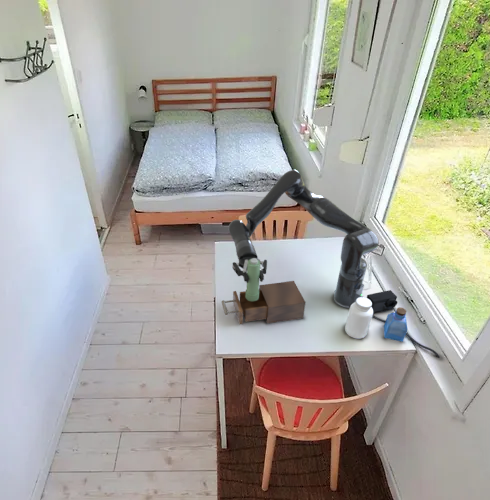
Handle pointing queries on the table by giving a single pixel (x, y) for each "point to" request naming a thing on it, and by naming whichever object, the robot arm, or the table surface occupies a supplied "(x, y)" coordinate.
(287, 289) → the cabinet
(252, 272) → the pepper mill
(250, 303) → the drawer
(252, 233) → the robot arm
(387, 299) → the digital camera
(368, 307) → the pill bottle
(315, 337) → the table surface
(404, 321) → the perfume bottle
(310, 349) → the table surface
